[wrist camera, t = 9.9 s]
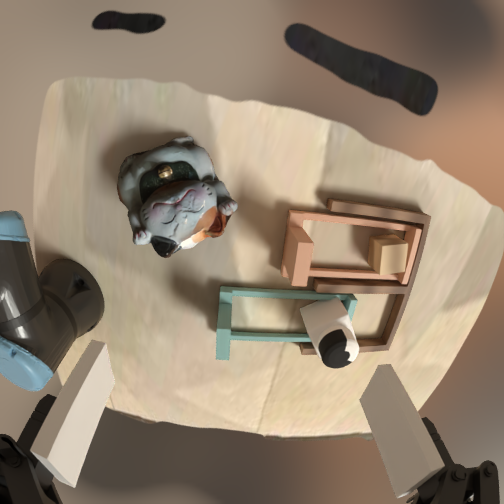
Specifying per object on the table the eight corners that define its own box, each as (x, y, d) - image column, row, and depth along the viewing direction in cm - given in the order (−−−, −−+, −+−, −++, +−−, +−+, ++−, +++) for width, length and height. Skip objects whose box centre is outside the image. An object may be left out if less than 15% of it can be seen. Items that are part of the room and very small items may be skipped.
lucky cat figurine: (212, 129, 38) (246, 168, 28) (218, 197, 46) (248, 252, 37) (110, 153, 34) (102, 203, 24) (130, 220, 42) (135, 283, 33)
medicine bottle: (311, 335, 51) (326, 379, 40) (298, 308, 49) (313, 351, 38) (345, 320, 51) (367, 361, 39) (335, 291, 48) (359, 331, 37)
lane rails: (299, 346, 52) (301, 354, 50) (327, 198, 42) (332, 201, 40) (383, 343, 53) (388, 350, 51) (423, 212, 43) (431, 216, 41)
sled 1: (280, 271, 46) (289, 299, 37) (288, 209, 42) (300, 225, 34) (399, 277, 47) (423, 300, 39) (412, 224, 44) (442, 241, 35)
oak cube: (367, 263, 47) (379, 275, 42) (369, 236, 45) (382, 246, 40) (391, 260, 47) (404, 271, 42) (393, 233, 45) (408, 243, 40)
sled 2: (218, 335, 50) (215, 368, 41) (220, 286, 46) (217, 316, 38) (338, 337, 52) (352, 368, 43) (351, 291, 48) (370, 319, 40)
